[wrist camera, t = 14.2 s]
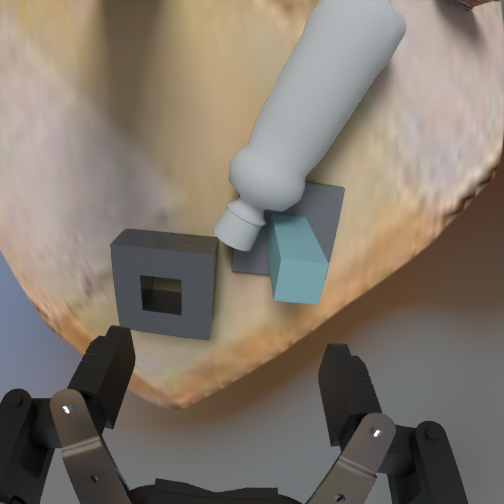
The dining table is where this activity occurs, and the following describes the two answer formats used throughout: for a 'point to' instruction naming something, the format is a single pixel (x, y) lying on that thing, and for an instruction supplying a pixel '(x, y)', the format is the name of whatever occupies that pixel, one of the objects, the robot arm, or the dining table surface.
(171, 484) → the robot arm
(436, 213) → the dining table surface
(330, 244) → the mat
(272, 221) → the peg
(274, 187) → the bottle
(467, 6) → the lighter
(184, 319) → the socket block
